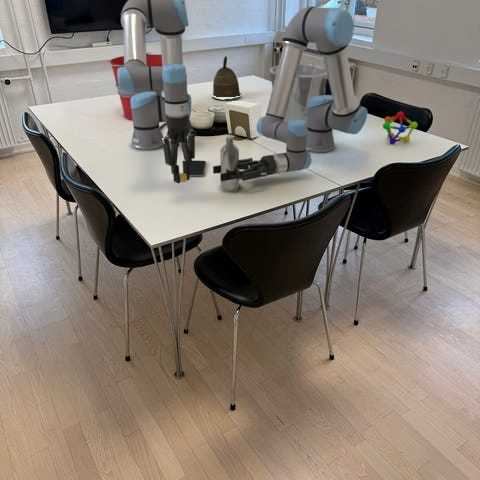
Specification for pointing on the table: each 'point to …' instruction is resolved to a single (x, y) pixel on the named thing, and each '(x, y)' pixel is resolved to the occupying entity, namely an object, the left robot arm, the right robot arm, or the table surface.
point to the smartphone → (197, 168)
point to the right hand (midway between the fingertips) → (217, 173)
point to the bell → (225, 82)
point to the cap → (183, 177)
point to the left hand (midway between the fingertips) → (181, 180)
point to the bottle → (229, 164)
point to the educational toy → (398, 128)
